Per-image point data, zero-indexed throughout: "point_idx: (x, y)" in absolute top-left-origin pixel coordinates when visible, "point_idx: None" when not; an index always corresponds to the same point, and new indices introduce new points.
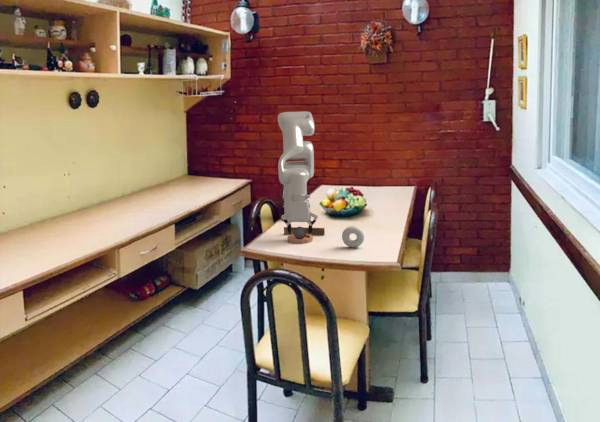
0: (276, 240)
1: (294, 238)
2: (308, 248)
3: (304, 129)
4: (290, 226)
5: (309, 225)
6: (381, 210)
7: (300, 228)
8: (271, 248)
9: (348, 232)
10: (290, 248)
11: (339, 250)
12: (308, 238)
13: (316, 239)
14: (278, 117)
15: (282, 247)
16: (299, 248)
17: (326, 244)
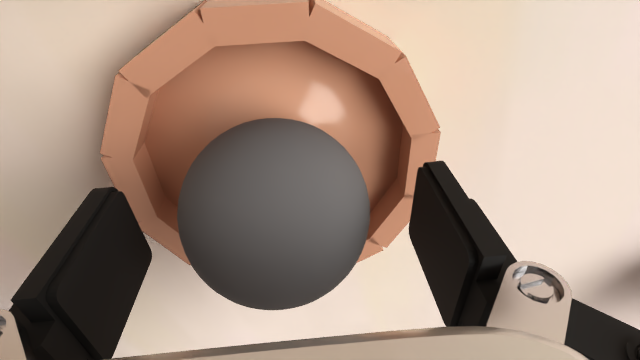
0: (10, 197)
1: (198, 147)
2: (401, 314)
3: None
4: (98, 314)
5: (469, 322)
6: None
7: (301, 304)
8: (139, 354)
9: None
10: (273, 334)
11: (609, 307)
12: (394, 221)
13: (468, 83)
14: None
15: (205, 330)
16: (337, 324)
17: (551, 221)
